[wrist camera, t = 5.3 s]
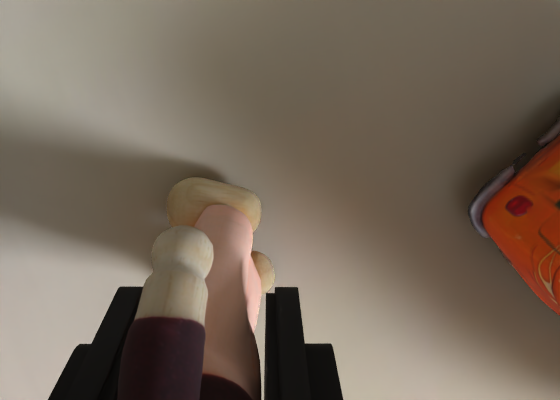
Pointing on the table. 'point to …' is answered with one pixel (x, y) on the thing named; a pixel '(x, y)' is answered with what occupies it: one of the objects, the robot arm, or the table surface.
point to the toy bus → (527, 217)
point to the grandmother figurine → (200, 301)
